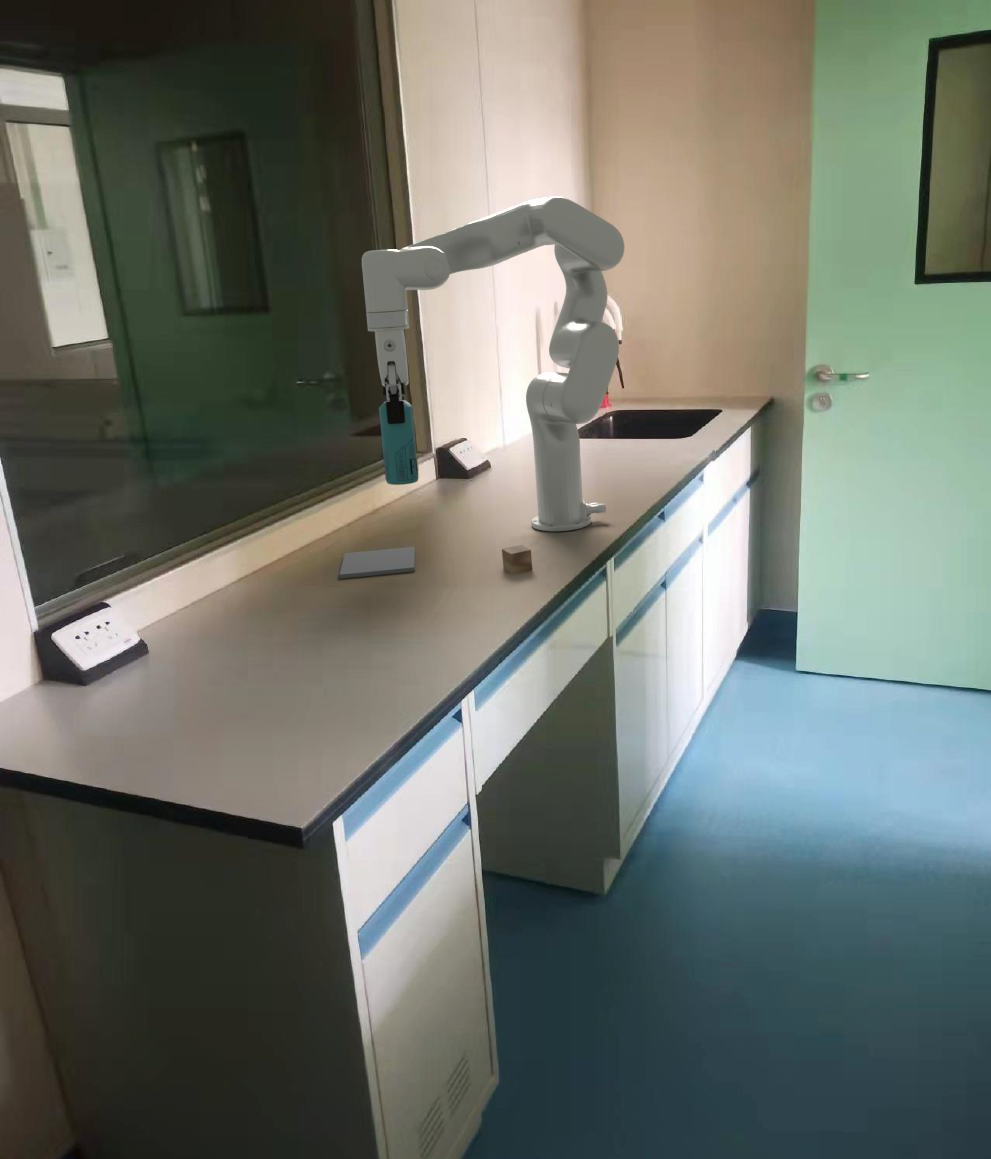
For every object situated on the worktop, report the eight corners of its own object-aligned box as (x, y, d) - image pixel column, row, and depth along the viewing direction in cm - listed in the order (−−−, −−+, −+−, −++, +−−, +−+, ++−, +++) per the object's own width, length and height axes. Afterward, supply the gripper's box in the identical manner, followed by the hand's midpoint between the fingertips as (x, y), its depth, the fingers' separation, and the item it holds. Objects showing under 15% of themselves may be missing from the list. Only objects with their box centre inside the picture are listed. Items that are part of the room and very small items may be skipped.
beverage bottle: (415, 492, 184) (406, 384, 178) (381, 493, 185) (370, 385, 179) (424, 484, 190) (415, 379, 184) (390, 485, 192) (381, 381, 185)
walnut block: (522, 565, 184) (521, 544, 183) (532, 570, 180) (530, 549, 179) (503, 569, 182) (501, 548, 181) (512, 574, 179) (511, 553, 178)
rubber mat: (414, 550, 199) (414, 546, 198) (414, 571, 185) (414, 567, 185) (345, 557, 198) (344, 553, 198) (340, 578, 185) (339, 574, 184)
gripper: (409, 322, 170) (417, 426, 176) (408, 318, 187) (416, 412, 192) (365, 325, 170) (375, 429, 175) (368, 320, 186) (377, 415, 192)
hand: (396, 419), depth 184 cm, fingers closed on beverage bottle, 6 cm apart
